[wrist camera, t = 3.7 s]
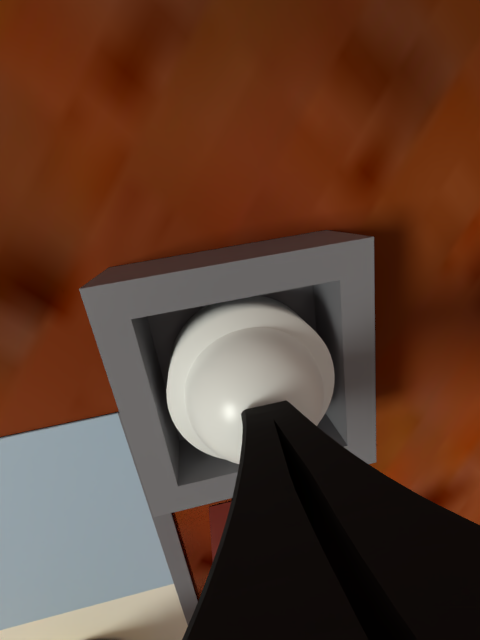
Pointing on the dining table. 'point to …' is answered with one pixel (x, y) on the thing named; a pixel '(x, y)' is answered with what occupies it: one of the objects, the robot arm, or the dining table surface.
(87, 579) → the game board
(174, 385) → the dome button
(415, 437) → the dining table surface
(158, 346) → the dome base
